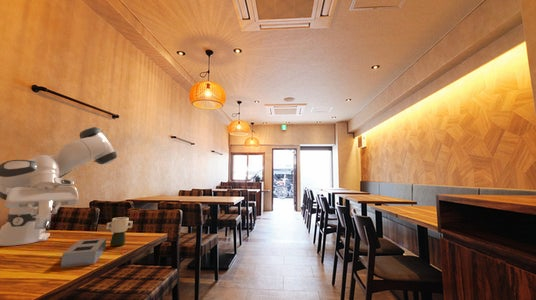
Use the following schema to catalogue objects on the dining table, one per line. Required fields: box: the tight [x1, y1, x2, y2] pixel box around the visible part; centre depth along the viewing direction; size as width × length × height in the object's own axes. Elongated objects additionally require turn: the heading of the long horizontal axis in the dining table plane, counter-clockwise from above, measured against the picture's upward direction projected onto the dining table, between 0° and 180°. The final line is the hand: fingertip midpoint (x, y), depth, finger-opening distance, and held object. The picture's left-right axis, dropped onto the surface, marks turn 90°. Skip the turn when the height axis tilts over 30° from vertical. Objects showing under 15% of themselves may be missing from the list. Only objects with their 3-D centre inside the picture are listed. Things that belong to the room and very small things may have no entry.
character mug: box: [105, 216, 134, 247], centre depth 112 cm, size 11×7×13 cm, turn 122°
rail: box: [60, 237, 107, 269], centre depth 93 cm, size 20×10×5 cm, turn 26°
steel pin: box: [34, 200, 54, 230], centre depth 84 cm, size 4×4×10 cm
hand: (44, 213), depth 84 cm, fingers closed on steel pin, 4 cm apart
